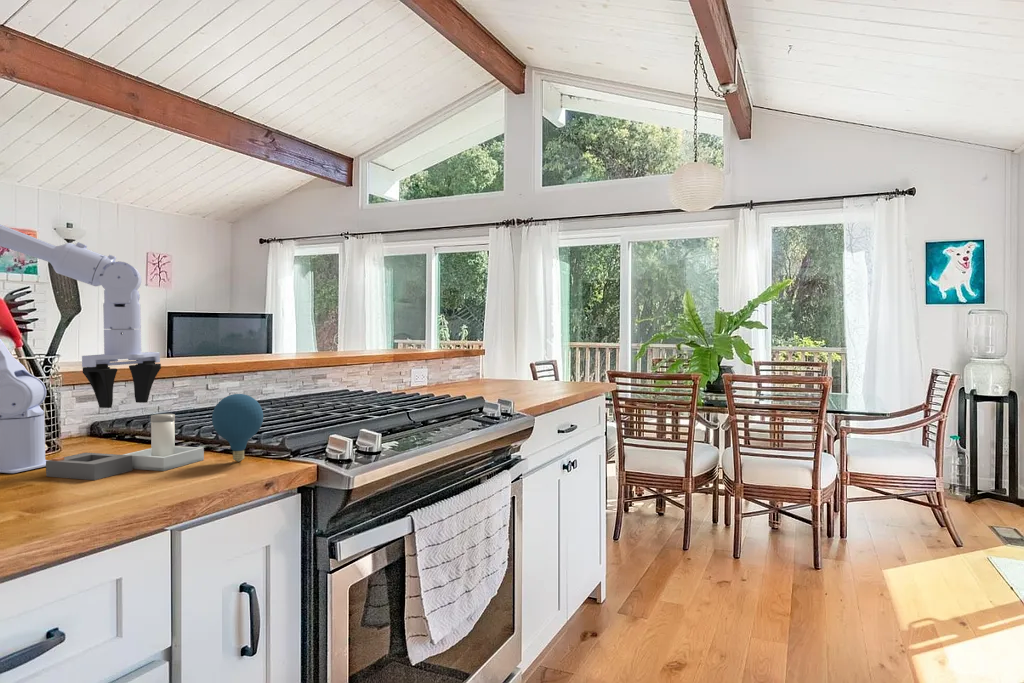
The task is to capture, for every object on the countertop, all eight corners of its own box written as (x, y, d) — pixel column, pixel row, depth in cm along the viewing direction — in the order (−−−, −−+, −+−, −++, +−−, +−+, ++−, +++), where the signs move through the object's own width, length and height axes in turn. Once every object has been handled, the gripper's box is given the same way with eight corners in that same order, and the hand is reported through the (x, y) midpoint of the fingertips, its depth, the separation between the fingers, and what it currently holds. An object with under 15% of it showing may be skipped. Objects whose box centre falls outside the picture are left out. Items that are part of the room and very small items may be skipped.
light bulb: (245, 467, 109) (244, 396, 109) (201, 465, 111) (200, 396, 111) (273, 457, 117) (272, 391, 117) (232, 455, 119) (231, 391, 119)
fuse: (146, 462, 111) (145, 416, 111) (161, 458, 115) (161, 413, 115) (164, 463, 110) (164, 416, 110) (180, 459, 114) (179, 414, 114)
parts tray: (121, 467, 109) (120, 455, 109) (163, 457, 118) (163, 445, 118) (163, 470, 107) (163, 457, 107) (203, 459, 116) (203, 447, 116)
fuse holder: (46, 476, 104) (45, 459, 103) (86, 467, 110) (85, 450, 110) (94, 480, 101) (94, 462, 101) (132, 470, 108) (132, 453, 107)
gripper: (104, 329, 107) (106, 410, 108) (172, 328, 121) (173, 400, 122) (71, 329, 109) (73, 409, 110) (142, 329, 123) (143, 399, 124)
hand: (124, 405), depth 116 cm, fingers open, 7 cm apart
